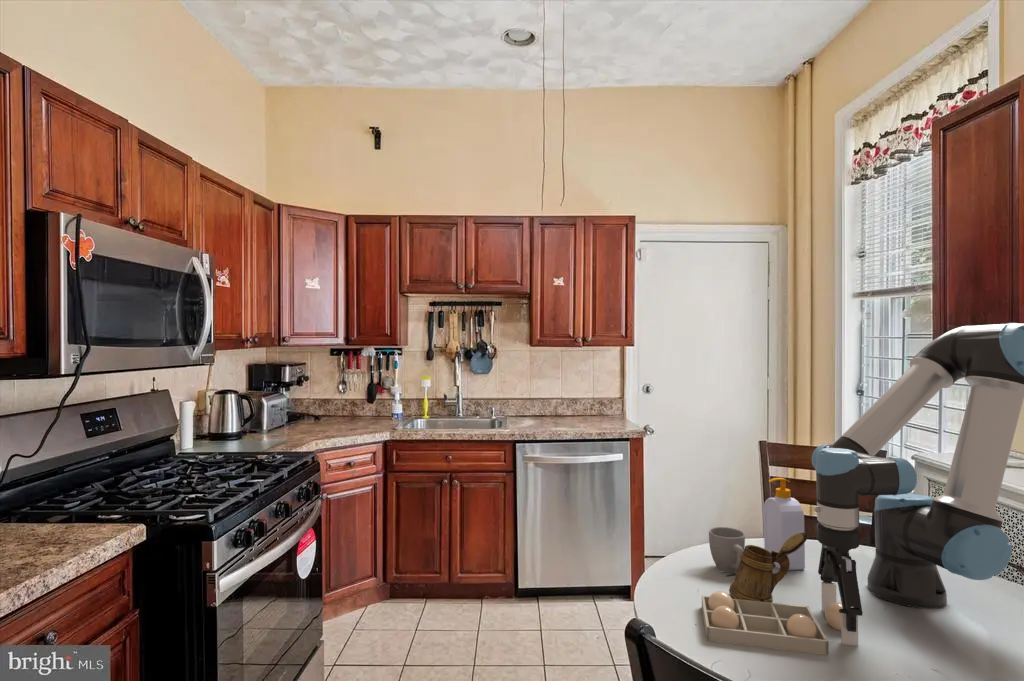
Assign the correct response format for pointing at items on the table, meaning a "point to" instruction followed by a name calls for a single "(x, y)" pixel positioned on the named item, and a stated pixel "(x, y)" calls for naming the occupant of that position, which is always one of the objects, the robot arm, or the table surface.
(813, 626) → the seated egg
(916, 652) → the table surface
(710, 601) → the seated egg
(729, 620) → the seated egg
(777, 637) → the carton
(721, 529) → the mug
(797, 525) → the soap bottle
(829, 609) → the egg
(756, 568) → the wooden mug
